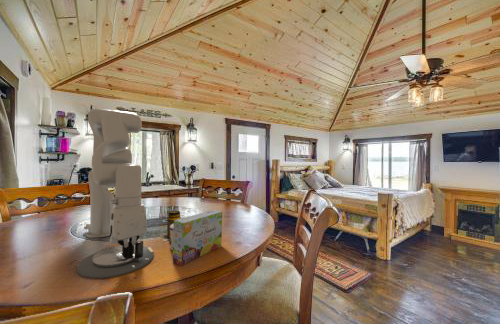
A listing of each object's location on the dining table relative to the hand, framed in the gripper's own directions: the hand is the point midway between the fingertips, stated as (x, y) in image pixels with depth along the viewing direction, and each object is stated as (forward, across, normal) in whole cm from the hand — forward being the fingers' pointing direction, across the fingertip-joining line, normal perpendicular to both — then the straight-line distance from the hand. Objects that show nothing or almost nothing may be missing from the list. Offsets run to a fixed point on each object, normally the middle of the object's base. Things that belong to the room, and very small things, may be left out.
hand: (128, 257), depth 71 cm
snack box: (+4, +23, -9) cm, 25 cm away
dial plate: (+4, +1, +9) cm, 10 cm away
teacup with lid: (+4, +21, +1) cm, 21 cm away
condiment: (+4, +26, +15) cm, 31 cm away
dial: (+3, +1, +8) cm, 8 cm away
